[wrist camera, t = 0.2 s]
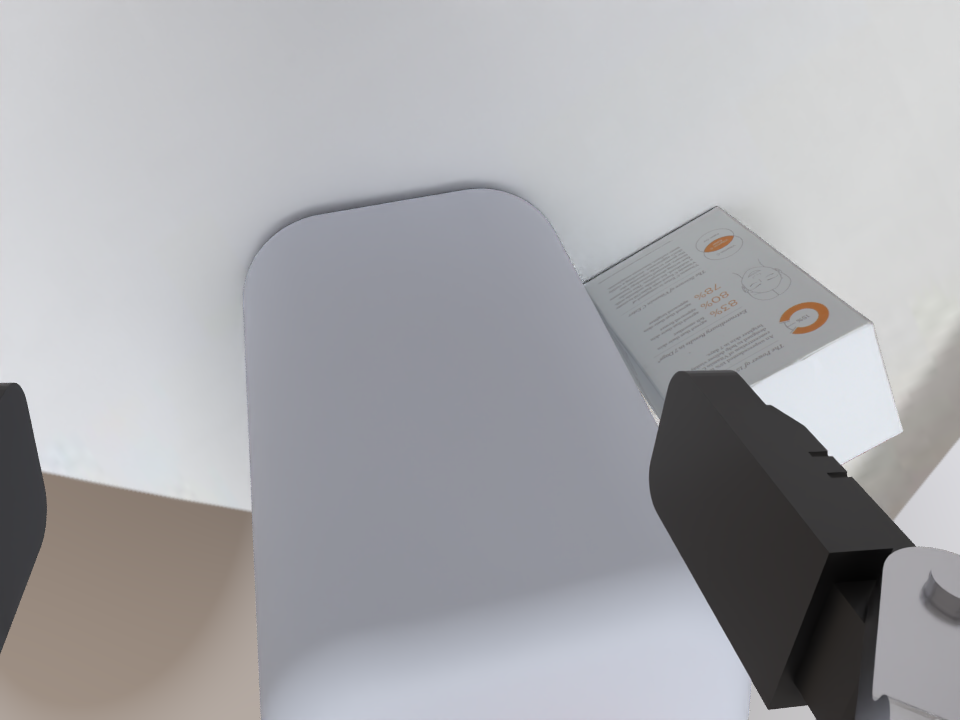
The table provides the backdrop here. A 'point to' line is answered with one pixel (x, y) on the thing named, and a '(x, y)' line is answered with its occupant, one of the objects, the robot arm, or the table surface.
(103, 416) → the table surface
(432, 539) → the plastic bottle
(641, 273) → the small box
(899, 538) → the robot arm
